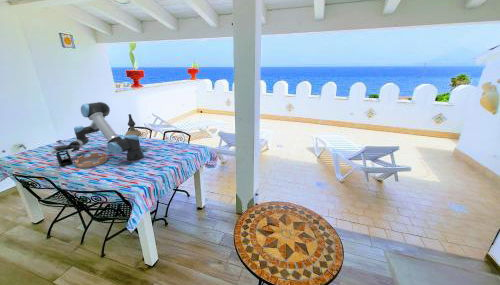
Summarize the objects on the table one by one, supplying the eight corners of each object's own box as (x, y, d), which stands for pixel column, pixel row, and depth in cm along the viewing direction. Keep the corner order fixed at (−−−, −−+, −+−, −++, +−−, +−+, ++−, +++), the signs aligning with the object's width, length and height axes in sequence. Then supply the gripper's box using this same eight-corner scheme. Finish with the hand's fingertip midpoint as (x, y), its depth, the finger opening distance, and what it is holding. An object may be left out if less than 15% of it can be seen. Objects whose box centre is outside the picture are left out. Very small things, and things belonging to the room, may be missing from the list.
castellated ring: (113, 158, 200) (111, 153, 198) (93, 169, 178) (91, 163, 176) (91, 156, 203) (90, 151, 201) (69, 167, 181) (67, 161, 179)
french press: (65, 161, 191) (58, 138, 184) (76, 161, 192) (69, 138, 184) (55, 167, 180) (47, 143, 172) (66, 167, 181) (58, 143, 173)
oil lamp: (125, 152, 214) (117, 115, 201) (135, 147, 228) (128, 112, 214) (137, 153, 212) (131, 116, 198) (147, 148, 226) (141, 113, 212)
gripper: (90, 147, 203) (76, 156, 183) (63, 148, 199) (45, 157, 179) (88, 140, 200) (74, 148, 180) (60, 141, 197) (43, 149, 177)
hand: (60, 152), depth 180 cm, fingers open, 13 cm apart
